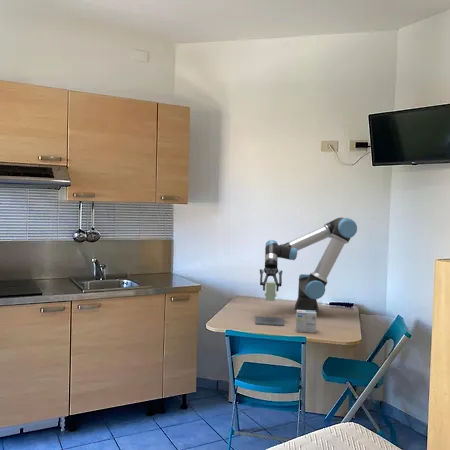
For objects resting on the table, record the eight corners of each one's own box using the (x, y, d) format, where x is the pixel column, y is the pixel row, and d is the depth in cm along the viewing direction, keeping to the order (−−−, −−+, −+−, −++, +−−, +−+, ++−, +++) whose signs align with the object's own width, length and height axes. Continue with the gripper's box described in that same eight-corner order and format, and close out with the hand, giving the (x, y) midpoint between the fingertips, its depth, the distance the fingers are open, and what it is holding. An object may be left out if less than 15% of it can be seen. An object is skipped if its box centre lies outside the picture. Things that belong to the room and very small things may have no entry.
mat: (282, 319, 274) (282, 317, 274) (284, 326, 258) (284, 324, 258) (255, 317, 275) (255, 316, 275) (255, 324, 259) (255, 323, 259)
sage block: (274, 299, 269) (275, 282, 268) (274, 301, 264) (275, 283, 263) (265, 298, 269) (266, 281, 269) (265, 300, 264) (266, 282, 264)
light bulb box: (315, 329, 254) (316, 310, 253) (316, 333, 247) (317, 313, 246) (295, 328, 255) (296, 309, 254) (295, 331, 248) (296, 311, 247)
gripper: (285, 267, 281) (286, 299, 265) (255, 265, 282) (254, 297, 266) (286, 259, 275) (287, 292, 260) (256, 257, 276) (254, 290, 261)
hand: (270, 295), depth 263 cm, fingers closed on sage block, 5 cm apart
